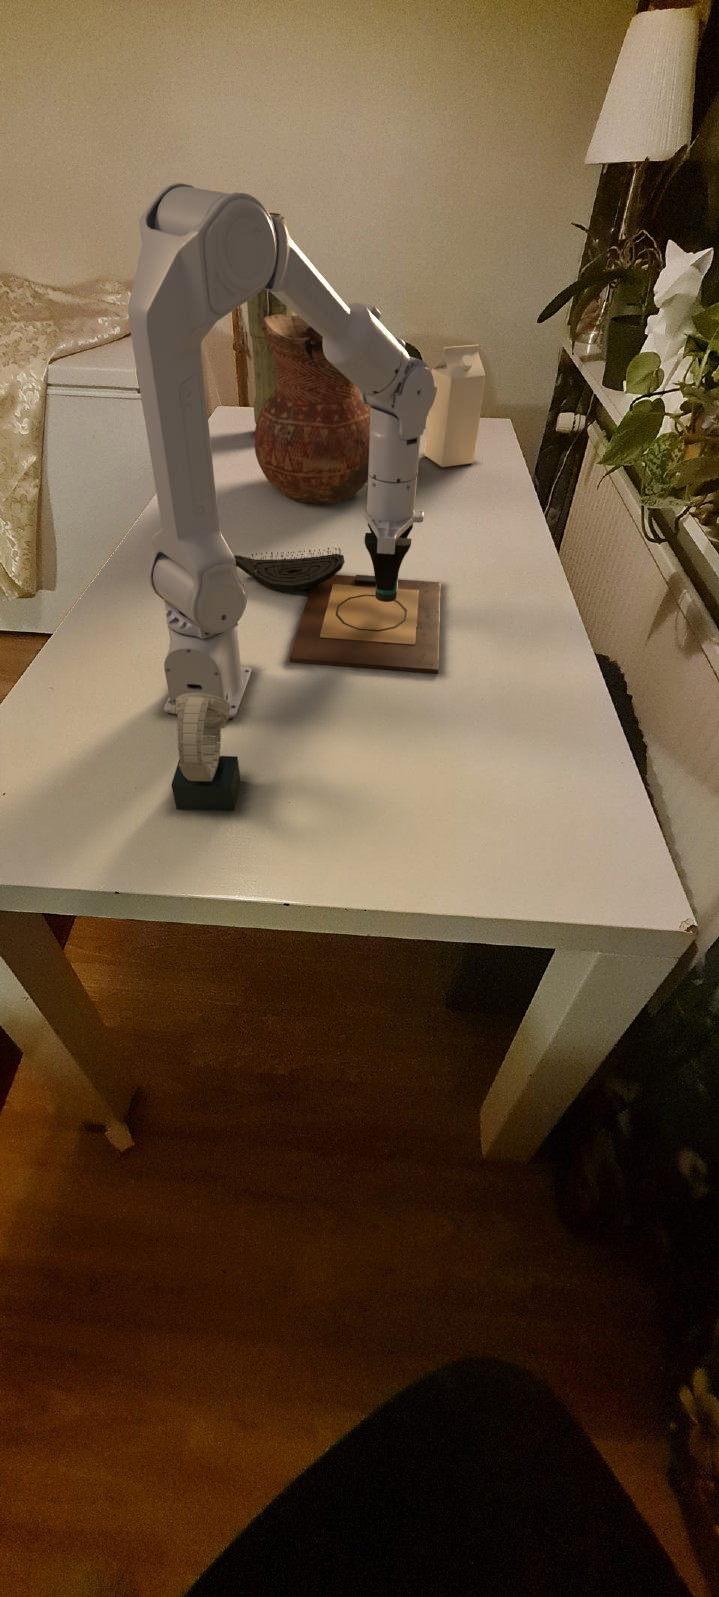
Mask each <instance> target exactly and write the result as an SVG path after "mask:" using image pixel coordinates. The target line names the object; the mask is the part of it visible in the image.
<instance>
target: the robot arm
mask: <svg viewBox="0 0 719 1597" xmlns="http://www.w3.org/2000/svg"><path fill="white" fill-rule="evenodd" d="M269 213H270V212H268V210H267V208H266V207H265V205H263V203H262V202H261V201H259V200H258V199H257V198H256V197H255V196H253V195H251V194H248V193H245V192H232V193H229V192H222V191H216V190H210V189H206V188H205V189H204V188H198V187H194V186H193V185H191V184H187V183H183V182H182V183H180V182H175V183H172V184H169V185H167V186H166V187H164V188H163V189H162V190H161V191H160V192H159V193H158V194H157V195H156V196H155V198H154V199H153V200H152V202H151V203H150V204H149V205H148V206H147V208H146V209H145V211H144V212H143V213H142V215H141V216H140V217H139V219H138V223H139V231H140V232H139V233H140V239H141V246H140V253H139V256H138V260H137V266H136V270H135V274H134V279H133V283H132V286H131V292H130V296H129V300H128V306H127V308H128V310H127V314H128V315H127V316H128V324H129V331H130V335H131V336H130V337H131V343H132V348H133V349H132V350H133V355H134V362H135V368H136V374H137V380H138V386H139V387H138V388H139V394H140V399H141V406H142V412H143V417H144V424H145V430H146V436H147V443H148V448H149V450H148V451H149V455H150V462H151V468H152V473H153V475H152V476H153V480H154V487H155V492H156V499H157V505H158V511H159V518H160V523H161V529H160V530H159V531H158V532H157V533H155V534H153V536H152V537H151V538H150V543H151V551H152V555H151V556H152V557H151V561H150V564H149V567H148V581H149V585H150V587H151V589H152V591H153V592H154V594H155V595H157V596H158V597H159V599H161V600H163V602H164V609H165V617H166V618H165V619H166V624H167V629H168V636H169V646H168V647H169V648H168V651H167V654H166V656H165V659H164V664H163V668H164V674H165V679H166V685H167V690H168V695H169V696H168V698H167V699H166V702H165V704H164V706H163V711H164V713H167V714H168V713H169V714H172V713H171V706H172V705H176V699H177V697H179V696H180V695H183V694H187V693H205V694H211V695H215V696H218V697H220V698H223V699H224V700H226V701H227V702H228V703H229V704H230V711H229V717H228V719H233V718H235V717H236V716H237V714H238V711H239V708H240V706H241V703H242V700H243V697H244V694H245V692H246V688H247V687H248V682H249V681H250V677H251V675H252V672H253V669H252V667H251V666H246V665H245V666H243V665H242V664H241V655H240V644H239V635H238V634H239V633H238V626H239V621H240V619H241V618H242V617H243V615H244V612H245V611H246V608H247V602H248V595H247V589H246V586H245V584H244V583H243V581H242V579H241V578H240V577H239V574H238V571H237V570H238V569H237V567H236V561H235V558H234V556H233V555H234V554H233V552H232V550H231V548H230V547H229V545H228V543H227V540H225V538H224V536H223V534H222V532H221V530H220V521H219V510H218V501H217V491H216V481H215V472H214V464H213V462H214V461H213V452H212V444H211V443H212V442H211V434H210V424H209V413H208V402H207V397H206V396H207V393H206V385H205V375H204V365H203V356H202V355H203V354H202V342H203V340H204V339H205V338H206V336H207V335H208V334H209V333H210V332H211V330H212V328H213V327H214V326H215V325H216V324H217V323H218V321H220V320H221V319H224V317H226V316H227V315H229V314H231V313H232V312H233V311H234V310H236V309H238V308H239V307H241V306H242V305H244V304H245V303H247V301H248V300H250V299H251V298H253V297H254V296H255V295H257V294H258V293H259V292H260V291H261V290H262V289H265V290H268V291H270V292H271V293H272V294H273V295H274V296H276V297H277V298H278V299H279V300H280V301H281V302H283V303H284V304H285V305H286V306H287V307H288V308H290V309H291V310H292V311H293V312H294V313H295V314H296V315H298V316H299V317H300V318H301V319H303V320H304V321H305V322H306V323H307V324H308V325H310V326H311V327H312V328H313V329H314V330H315V331H317V332H318V333H319V334H320V335H321V336H322V337H323V352H324V355H325V357H326V359H327V360H328V361H329V362H330V363H331V364H332V365H333V366H335V367H336V368H337V369H338V370H339V371H340V372H341V373H342V374H343V375H344V376H345V377H346V378H348V379H349V380H350V381H351V382H352V383H353V384H354V385H355V386H356V387H357V388H358V389H359V393H360V397H361V400H362V402H363V404H366V405H369V406H370V408H371V411H370V440H369V467H368V481H367V492H366V493H367V496H366V498H367V499H366V500H367V501H366V508H365V511H364V519H365V521H366V522H367V526H368V529H369V531H370V532H365V533H364V534H365V535H364V545H365V549H366V550H367V552H368V554H369V557H370V559H371V562H372V567H373V572H374V573H373V575H374V576H375V581H376V586H377V589H378V590H388V591H393V590H394V587H395V584H396V581H397V577H398V578H399V572H400V570H401V569H400V568H401V566H402V563H403V561H404V558H405V556H406V554H407V553H408V552H409V550H410V548H411V546H412V540H413V539H412V538H410V537H409V535H410V533H411V531H412V530H413V528H414V527H413V526H414V524H415V523H416V524H417V523H418V524H420V523H423V522H424V517H425V512H424V511H423V510H421V509H420V510H419V509H418V510H417V509H416V508H415V507H416V497H417V496H416V494H417V485H418V474H419V473H418V472H419V460H420V449H421V448H420V447H421V438H422V436H423V435H424V430H427V419H428V413H429V411H430V409H431V407H432V405H433V403H434V400H435V397H436V392H437V387H436V386H435V385H434V378H433V375H432V370H431V369H430V366H429V365H428V363H427V362H426V361H425V360H422V359H419V358H417V357H412V356H410V355H409V354H408V352H407V349H406V342H405V341H404V340H403V339H402V338H401V337H398V336H393V334H392V333H391V332H390V331H389V330H388V329H387V328H386V327H385V326H384V325H383V324H382V322H380V320H379V319H380V318H381V316H382V315H381V314H382V313H381V311H380V310H379V309H378V308H377V307H376V306H375V305H372V304H369V303H361V302H351V303H345V302H344V301H343V300H342V299H341V297H340V296H339V295H338V293H337V292H336V291H335V290H334V289H333V288H332V286H331V285H330V284H329V283H328V281H327V280H326V279H325V278H324V276H323V275H322V274H321V273H320V272H319V271H318V270H317V268H316V267H315V266H314V264H313V263H311V261H310V260H309V258H308V257H307V256H306V255H305V254H304V253H303V252H302V250H301V249H300V247H299V246H297V244H296V243H295V242H294V240H293V239H292V238H291V236H290V237H289V234H290V233H289V234H288V232H287V229H286V226H285V225H284V224H283V223H282V222H281V221H279V220H278V219H277V218H275V217H274V216H272V215H269Z"/></svg>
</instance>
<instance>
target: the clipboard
mask: <svg viewBox="0 0 719 1597" xmlns="http://www.w3.org/2000/svg"><path fill="white" fill-rule="evenodd" d="M375 593H376V581H375V575H366V574H365V575H364V574H355V575H346V574H345V575H344V574H335V575H334V576H333V577H331V578H330V579H328V580H326V581H324V582H322V583H320V584H318V585H315V586H313V587H311V588H309V592H308V594H307V598H306V600H305V601H306V602H305V604H304V608H303V611H302V613H301V614H302V615H301V618H300V620H299V624H298V628H297V632H296V634H295V637H294V640H293V645H292V648H291V651H290V655H289V658H288V660H289V662H290V663H299V664H311V665H312V664H314V665H325V666H337V667H350V668H363V669H377V670H388V671H399V672H400V671H401V672H414V673H416V672H417V673H425V674H439V660H440V658H439V657H440V656H439V655H440V625H441V624H440V622H441V621H440V620H441V619H440V618H441V617H440V616H441V582H440V581H426V580H416V579H415V580H413V579H410V580H409V579H399V578H398V586H397V598H396V599H395V600H394V601H391V602H382V601H379V600H378V599H376V597H375Z"/></svg>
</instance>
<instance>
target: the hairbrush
mask: <svg viewBox="0 0 719 1597" xmlns="http://www.w3.org/2000/svg"><path fill="white" fill-rule="evenodd" d="M334 549H335V553H334V552H332V551H331V550H330V547H327V554H325V555H324V552H325V551H326V549H323V551H324V552H322V553H321V552H320V551H321V549H320V548H319V549H318V552H317V555H316V554H315V552H316V550H315V549H314V550H313V552H311V551H312V550H311V549H309V550H308V555H306V557H305V556H304V553H305V550H303V553H302V550H299V553H301V555H300V557H299V554H298V553H297V554H296V556H294V554H295V551H293V554H291V557H290V556H289V554H290V553H289V551H287V554H286V557H284V554H283V552H280V554H281V555H280V558H278V556H279V552H277V554H276V555H275V558H274V555H273V552H270V554H271V555H269V558H270V559H268V558H267V556H262V557H260V559H254V558H252V557H254V554H253V553H252V554H251V556H248V557H247V556H243V555H240V554H239V555H237V554H233V556H234V558H235V561H236V568H239V569H241V571H243V572H244V573H245V574H247V575H248V576H250V577H251V578H253V579H254V580H255V581H256V582H258V583H259V584H261V585H262V586H265V587H268V588H271V589H274V590H275V591H276V590H277V591H289V592H294V591H299V590H305V589H306V590H307V589H310V588H311V587H313V586H315V585H318V584H320V583H322V582H324V581H326V580H328V579H330V578H331V577H333V576H334V575H337V573H339V572H340V571H341V570H342V569H343V566H344V564H345V562H346V560H345V557H344V554H342V553H341V552H342V550H341V548H340V547H338V548H337V547H335V548H334ZM337 550H338V551H339V553H337ZM330 553H331V554H330ZM266 554H268V551H266ZM255 555H256V556H257V555H258V553H257V552H256V553H255ZM260 555H263V552H261V553H260ZM293 556H294V557H293ZM287 557H288V558H287ZM292 557H293V558H292Z"/></svg>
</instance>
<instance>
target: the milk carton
mask: <svg viewBox="0 0 719 1597" xmlns="http://www.w3.org/2000/svg"><path fill="white" fill-rule="evenodd" d="M479 347H480V345H479V344H472V345H457V346H446V347H445V346H444V347H443V352H442V356H440V358H439V359H438V360H437V362H436V363H435V364H434V365H433V367H432V368H431V373H432V375H433V378H434V385H435V386H436V387H437V392H436V397H435V400H434V403H433V405H432V407H431V409H430V411H429V413H428V415H427V419H426V429H425V430H426V432H425V442H424V451H423V452H424V453H423V454H424V456H425V457H427V458H428V459H429V460H431V461H432V462H433V463H435V464H437V465H438V466H439V467H442V468H446V467H454V466H461V465H468V464H474V462H475V456H476V448H477V441H478V436H479V435H478V434H479V427H480V419H481V412H482V405H483V404H482V403H483V398H484V390H485V384H486V372H485V370H484V369H485V368H484V365H483V363H482V359H481V356H480V353H479Z"/></svg>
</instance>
